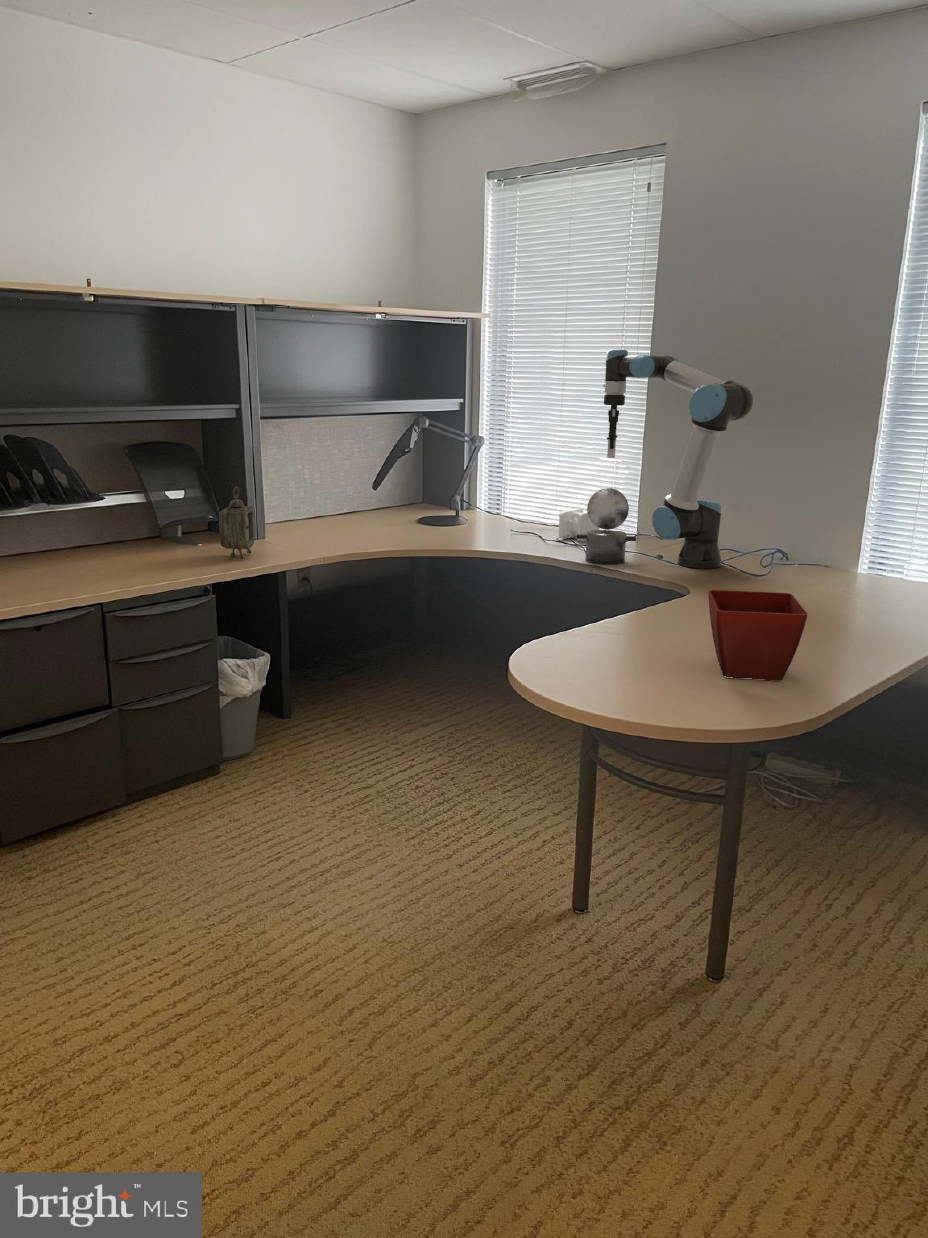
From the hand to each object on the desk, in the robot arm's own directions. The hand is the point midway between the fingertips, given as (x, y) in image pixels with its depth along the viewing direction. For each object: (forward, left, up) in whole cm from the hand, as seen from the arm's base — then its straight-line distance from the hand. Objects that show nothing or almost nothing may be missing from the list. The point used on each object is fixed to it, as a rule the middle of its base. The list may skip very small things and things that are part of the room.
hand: (610, 456), depth 332 cm
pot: (-9, +15, -35) cm, 40 cm away
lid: (-5, +8, -18) cm, 20 cm away
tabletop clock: (+90, +101, -36) cm, 140 cm away
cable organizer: (+21, -15, -36) cm, 44 cm away
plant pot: (-97, +100, -36) cm, 144 cm away
